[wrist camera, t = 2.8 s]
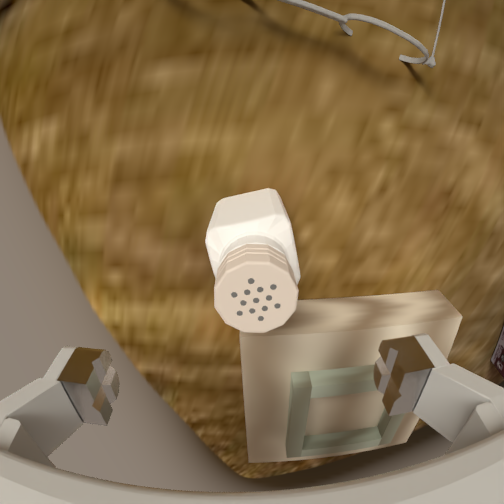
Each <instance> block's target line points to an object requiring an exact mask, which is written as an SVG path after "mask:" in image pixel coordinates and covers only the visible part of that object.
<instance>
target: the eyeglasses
mask: <svg viewBox="0 0 504 504" xmlns="http://www.w3.org/2000/svg"><path fill="white" fill-rule="evenodd" d="M278 1H282V2H285V3H288V4H291V5H294V6H297V7H300V8H303V9H306V10H309V11H312V12H315V13H317V14H320V15H323V16H325V17H328V18H331V19H333V20H336V21H338V22H339V25H340V26H341V28H342V29H343V30H344V31H345V32H346V33H347V34H349V35H350V36H352V33H353V31H352V30H351V29H349V28H348V27H347V26H346V25H345V23H347V21H348V20H359V21H364V22H368V23H372V24H374V25H377V26H379V27H382V28H384V29H387V30H389V31H391V32H393V33H395V34H397V35H398V36H400V37H402V38H404V39H406V40H407V41H409V42H410V43H412V44H413V45H415V46H416V47H417V48H418V49H419V50H420V51H421V52H422V53H423V54H424V55H425V57H422V58H412V57H407V56H404V55H400V57H399V60H402V61H405V62H409V63H415V64H420V63H422V64H427V65H428V66H429V67H430V68H433V66H435V64H436V63H435V61H434V59H435V58H434V57H433V56H434V52H435V48H436V44H437V39H438V35H439V30H440V26H441V21H442V16H443V11H444V5H445V0H443V6H442V11H441V16H440V21H439V26H438V30H437V35H436V39H435V44H434V48H433V52H432V56H431V57H430V58H429V59H428V57H429V53H428V51H427V49H426V48H425V47H424V46H423V45H422V44H421V43H420V42H419V41H418V40H416V39H415V38H413V37H412V36H410V35H409V34H407V33H405V32H403V31H402V30H400V29H398V28H396V27H394V26H392V25H390V24H388V23H386V22H383V21H381V20H378V19H376V18H373V17H369V16H365V15H360V14H348V15H345V16H342V15H340V14H337V13H335V12H332V11H330V10H327V9H324V8H322V7H319V6H316V5H314V4H311V3H308V2H305V1H302V0H278Z"/></svg>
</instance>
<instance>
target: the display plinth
mask: <svg viewBox="0 0 504 504" xmlns="http://www.w3.org/2000/svg"><path fill="white" fill-rule="evenodd" d="M461 319H462V315H461V314H460V313H459V312H458V311H457V310H456V309H455V307H454V306H453V305H452V304H451V303H450V302H449V301H448V300H447V299H446V298H445V296H444V295H443V294H442V293H441V292H440V291H439V290H433V291H422V292H411V293H400V294H388V295H375V296H361V297H346V298H329V299H311V300H297V307H296V310H295V312H294V313H293V314H292V315H291V316H290V318H289V319H288V320H287V321H286V322H285V324H284V325H282V326H280V327H277V328H275V329H273V330H270V331H268V332H266V333H247V332H242V331H240V350H241V365H242V380H243V394H244V408H245V421H246V435H247V447H248V460H249V463H258V462H280V461H294V460H305V459H315V458H324V457H331V456H339V455H345V454H352V453H358V452H363V451H369V450H373V449H378V448H384V447H388V446H392V445H397V444H401V443H405V442H407V440H408V438H409V436H410V435H411V433H412V431H413V429H414V427H415V426H416V424H417V422H418V420H419V417H418V416H417V415H416V414H414V413H413V411H412V412H407V413H403V414H398V415H392V416H388V413H387V411H386V409H385V406H384V404H383V402H382V399H383V396H384V394H383V393H381V392H379V391H378V390H377V388H376V386H375V382H374V365H375V362H376V360H377V359H378V358H379V357H380V356H381V355H380V353H379V351H378V349H379V346H380V343H381V342H382V340H387V339H394V338H400V337H406V336H411V335H416V334H421V333H426V334H428V335H429V336H430V338H431V339H432V340H433V342H434V343H435V344H436V346H437V347H438V348H439V350H440V351H441V353H442V354H443V355H444V357H445V358H446V360H447V357H448V355H449V352H450V350H451V347H452V345H453V342H454V339H455V337H456V334H457V331H458V328H459V325H460V322H461Z"/></svg>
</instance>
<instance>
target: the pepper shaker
mask: <svg viewBox="0 0 504 504" xmlns="http://www.w3.org/2000/svg"><path fill="white" fill-rule="evenodd" d="M205 242H206V247H207V251H208V255H209V258H210V262H211V266H212V269H213V272H214V275H215V278H216V281H215V286H214V307H215V309H216V310H217V312H218V313H219V314H220V316H221V317H222V319H223V320H224V322H225V323H226V324H228V325H230V326H232V327H234V328H236V329H238V330H240V331H242V332H247V333H266V332H268V331H270V330H273V329H275V328H277V327H280V326H282V325H284V324H285V322H286V321H287V320H288V319H289V318H290V316H291V315H292V314H293V313H294V312H295V310H296V307H297V299H298V291H299V290H298V287H297V285H298V282H299V280H300V277H301V276H300V269H299V263H298V257H297V252H296V246H295V241H294V236H293V231H292V226H291V222H290V220H289V217H288V215H287V212H286V210H285V207H284V205H283V202H282V200H281V197H280V195H279V194H278V192H277V191H276V190H274V189H269V188H268V189H263V190H258V191H254V192H249V193H245V194H240V195H236V196H231V197H227V198H223V199H221V200H220V201H219V202H217V203H216V206H215V209H214V212H213V215H212V218H211V221H210V223H209V226H208V229H207V233H206V240H205Z"/></svg>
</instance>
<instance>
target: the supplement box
mask: <svg viewBox="0 0 504 504" xmlns="http://www.w3.org/2000/svg"><path fill="white" fill-rule="evenodd" d="M491 361H492V363H493V364H494V365H495V367H496V368H497V369H498V371H499V372H500V374H501V375H502V376H503V378H504V327H503V329H502V332H501V335H500V338H499V341H498V344H497V346H496V349H495V351H494V354H493V356H492V358H491Z"/></svg>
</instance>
